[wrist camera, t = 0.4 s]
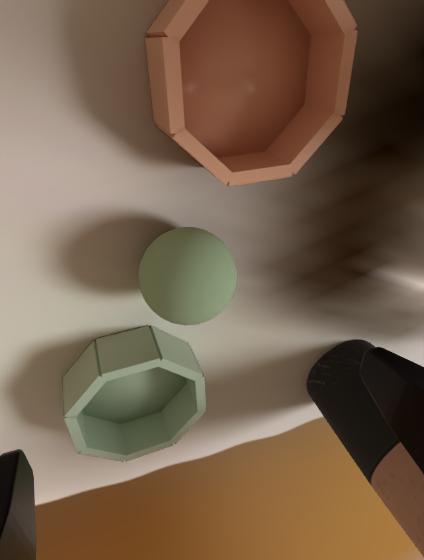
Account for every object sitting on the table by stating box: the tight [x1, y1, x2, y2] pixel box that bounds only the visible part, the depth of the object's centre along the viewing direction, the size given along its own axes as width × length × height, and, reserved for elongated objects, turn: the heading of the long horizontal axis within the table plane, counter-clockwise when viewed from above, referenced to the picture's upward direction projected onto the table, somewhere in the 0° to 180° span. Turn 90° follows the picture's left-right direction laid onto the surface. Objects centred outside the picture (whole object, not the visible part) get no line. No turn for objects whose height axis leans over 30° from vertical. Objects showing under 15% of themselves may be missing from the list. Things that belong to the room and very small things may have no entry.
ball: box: [139, 227, 237, 325], centre depth 19 cm, size 5×5×5 cm
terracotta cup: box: [145, 0, 358, 186], centre depth 16 cm, size 8×8×3 cm
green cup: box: [62, 326, 206, 462], centre depth 24 cm, size 8×8×3 cm
